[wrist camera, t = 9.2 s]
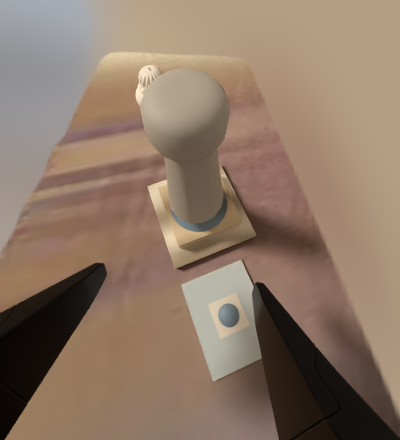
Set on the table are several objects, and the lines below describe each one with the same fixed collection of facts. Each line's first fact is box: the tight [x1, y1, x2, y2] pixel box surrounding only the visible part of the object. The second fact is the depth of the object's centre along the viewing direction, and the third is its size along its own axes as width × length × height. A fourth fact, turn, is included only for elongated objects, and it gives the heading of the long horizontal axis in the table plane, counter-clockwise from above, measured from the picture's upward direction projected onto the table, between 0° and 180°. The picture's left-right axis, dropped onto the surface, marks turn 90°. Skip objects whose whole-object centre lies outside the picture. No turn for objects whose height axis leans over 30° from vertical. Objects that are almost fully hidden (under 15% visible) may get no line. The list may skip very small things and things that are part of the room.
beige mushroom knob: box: [140, 69, 229, 224], centre depth 13 cm, size 6×6×13 cm
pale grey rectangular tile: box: [181, 260, 262, 382], centre depth 18 cm, size 10×8×1 cm
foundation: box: [147, 162, 257, 269], centre depth 21 cm, size 12×11×3 cm
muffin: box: [136, 65, 163, 105], centre depth 24 cm, size 6×6×7 cm
